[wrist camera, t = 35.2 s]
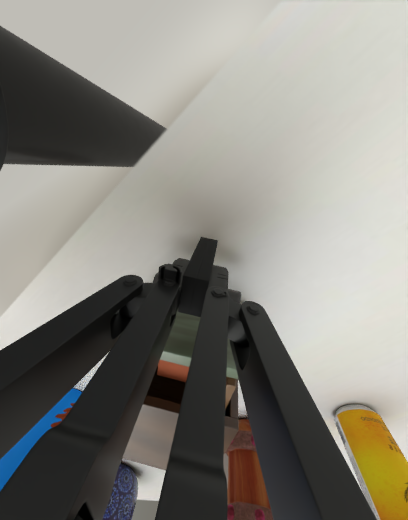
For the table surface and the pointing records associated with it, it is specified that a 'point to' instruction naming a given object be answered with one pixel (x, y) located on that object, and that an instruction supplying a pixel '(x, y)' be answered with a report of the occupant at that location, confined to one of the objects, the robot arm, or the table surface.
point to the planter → (122, 495)
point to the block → (172, 370)
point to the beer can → (375, 461)
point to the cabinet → (168, 430)
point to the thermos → (35, 435)
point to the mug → (246, 479)
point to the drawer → (187, 356)
